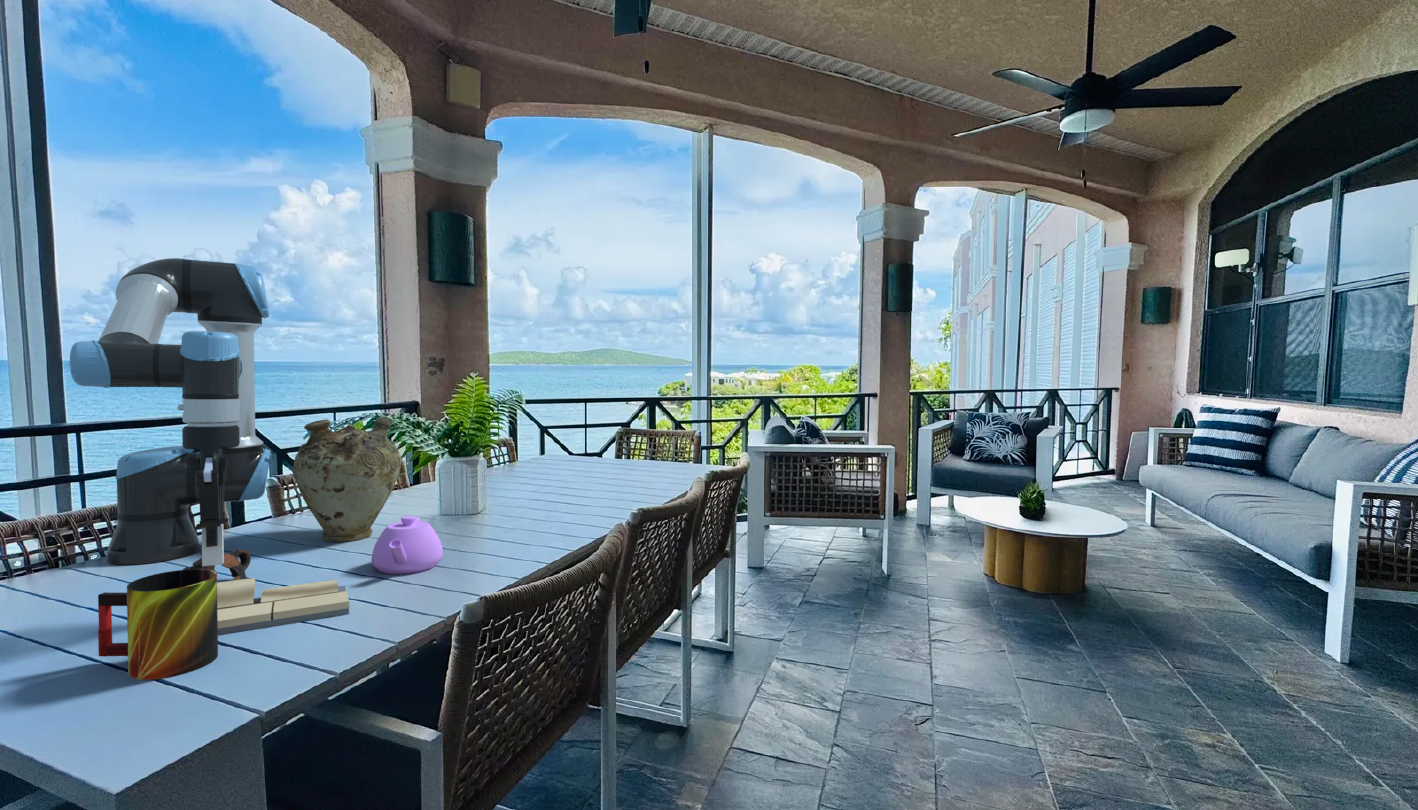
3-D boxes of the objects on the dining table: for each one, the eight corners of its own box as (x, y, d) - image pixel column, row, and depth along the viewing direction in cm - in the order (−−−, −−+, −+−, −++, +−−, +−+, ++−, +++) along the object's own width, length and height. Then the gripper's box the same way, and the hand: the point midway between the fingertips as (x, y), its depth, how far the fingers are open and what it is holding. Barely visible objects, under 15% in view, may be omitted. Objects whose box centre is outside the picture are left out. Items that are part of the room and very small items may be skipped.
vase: (394, 542, 147) (381, 415, 146) (283, 556, 142) (268, 425, 141) (418, 522, 170) (407, 411, 168) (323, 533, 165) (310, 419, 164)
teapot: (356, 584, 123) (356, 530, 122) (384, 554, 142) (384, 508, 142) (432, 580, 126) (432, 528, 125) (449, 552, 145) (449, 506, 145)
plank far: (262, 595, 112) (262, 589, 111) (336, 585, 118) (336, 579, 118) (260, 609, 106) (260, 602, 106) (338, 597, 112) (338, 591, 112)
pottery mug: (227, 600, 114) (198, 564, 112) (188, 618, 116) (159, 583, 114) (274, 564, 125) (248, 530, 123) (238, 581, 127) (212, 548, 125)
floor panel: (164, 616, 105) (164, 603, 105) (344, 590, 119) (344, 579, 119) (148, 645, 94) (148, 631, 94) (349, 613, 108) (349, 601, 108)
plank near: (171, 593, 105) (170, 588, 104) (255, 583, 111) (254, 577, 110) (165, 621, 100) (164, 615, 99) (253, 608, 106) (252, 603, 106)
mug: (100, 662, 89) (99, 578, 88) (223, 643, 95) (222, 565, 95) (74, 693, 80) (72, 600, 80) (210, 670, 87) (209, 585, 86)
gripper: (188, 422, 109) (190, 557, 109) (175, 427, 97) (177, 578, 98) (242, 421, 113) (243, 551, 114) (235, 426, 102) (237, 571, 102)
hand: (213, 563), depth 106 cm, fingers closed
